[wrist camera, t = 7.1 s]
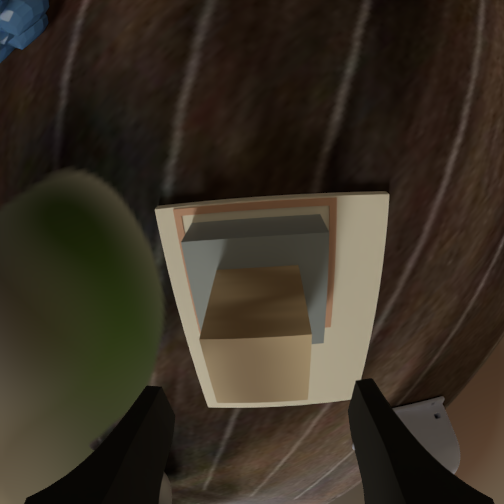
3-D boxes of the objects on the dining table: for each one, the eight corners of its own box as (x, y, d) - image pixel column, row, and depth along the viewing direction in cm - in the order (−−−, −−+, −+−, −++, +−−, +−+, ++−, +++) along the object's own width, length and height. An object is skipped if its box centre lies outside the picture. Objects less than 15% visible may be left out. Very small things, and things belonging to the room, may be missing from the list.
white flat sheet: (385, 191, 16) (389, 194, 15) (354, 393, 24) (356, 399, 23) (157, 205, 17) (154, 210, 16) (209, 402, 25) (208, 408, 24)
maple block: (298, 265, 15) (311, 334, 10) (298, 327, 17) (307, 399, 12) (216, 269, 15) (199, 339, 11) (227, 331, 17) (217, 402, 12)
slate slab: (320, 214, 16) (329, 232, 14) (317, 317, 19) (323, 343, 17) (191, 222, 17) (181, 241, 14) (210, 322, 20) (205, 348, 18)
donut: (179, 481, 36) (170, 533, 28) (159, 478, 37) (148, 529, 28) (157, 456, 32) (143, 519, 23) (134, 452, 32) (118, 513, 23)
